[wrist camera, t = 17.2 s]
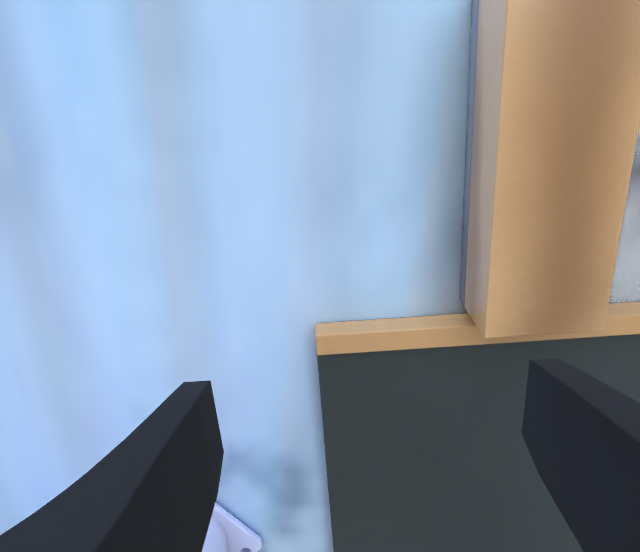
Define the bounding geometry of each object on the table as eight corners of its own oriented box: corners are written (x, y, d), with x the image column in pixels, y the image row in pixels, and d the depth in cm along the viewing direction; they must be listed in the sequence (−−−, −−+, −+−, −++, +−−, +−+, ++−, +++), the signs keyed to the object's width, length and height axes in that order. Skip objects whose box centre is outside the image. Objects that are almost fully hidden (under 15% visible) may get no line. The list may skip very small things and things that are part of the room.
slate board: (343, 663, 31) (344, 685, 30) (314, 323, 22) (314, 335, 21) (656, 646, 31) (669, 667, 30) (763, 292, 21) (787, 304, 20)
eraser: (458, 300, 21) (484, 339, 18) (472, -10, 17) (509, -31, 14) (560, 293, 21) (604, 331, 18) (601, -20, 17) (669, -43, 14)
